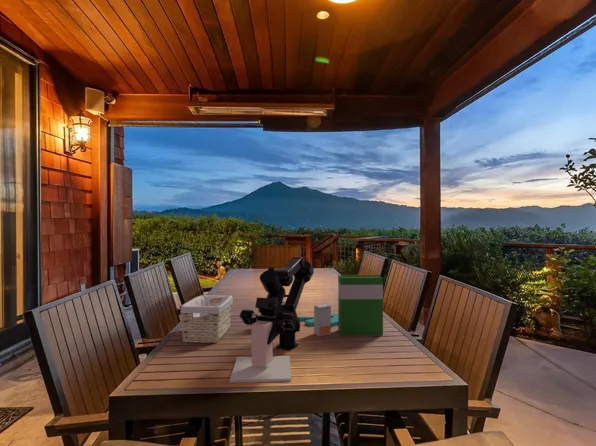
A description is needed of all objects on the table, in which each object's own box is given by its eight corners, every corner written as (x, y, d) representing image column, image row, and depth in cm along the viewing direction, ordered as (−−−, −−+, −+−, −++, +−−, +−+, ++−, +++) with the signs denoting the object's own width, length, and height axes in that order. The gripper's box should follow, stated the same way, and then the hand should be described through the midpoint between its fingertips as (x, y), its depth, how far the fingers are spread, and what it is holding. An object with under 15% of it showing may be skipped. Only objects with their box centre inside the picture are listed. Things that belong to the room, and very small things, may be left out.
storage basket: (198, 326, 161) (198, 294, 161) (234, 327, 160) (234, 294, 160) (178, 344, 137) (178, 306, 137) (220, 345, 136) (220, 306, 136)
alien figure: (292, 321, 170) (321, 330, 155) (292, 316, 170) (321, 325, 155) (321, 314, 183) (351, 322, 168) (321, 310, 183) (351, 317, 168)
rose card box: (258, 358, 116) (258, 320, 116) (272, 360, 114) (272, 321, 114) (251, 364, 111) (251, 324, 111) (265, 366, 110) (265, 326, 110)
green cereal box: (378, 329, 155) (378, 274, 155) (383, 335, 148) (382, 277, 148) (338, 330, 155) (338, 275, 155) (340, 335, 147) (340, 277, 147)
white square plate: (237, 359, 122) (237, 356, 122) (289, 358, 122) (289, 355, 122) (229, 382, 104) (229, 379, 104) (291, 381, 104) (291, 378, 104)
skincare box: (318, 336, 146) (318, 307, 146) (313, 333, 150) (313, 305, 150) (331, 334, 148) (331, 306, 148) (326, 331, 152) (326, 303, 152)
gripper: (241, 285, 120) (224, 327, 109) (293, 288, 114) (280, 333, 103) (252, 303, 127) (237, 344, 117) (301, 307, 121) (290, 351, 111)
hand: (260, 343), depth 112 cm, fingers closed on rose card box, 5 cm apart
